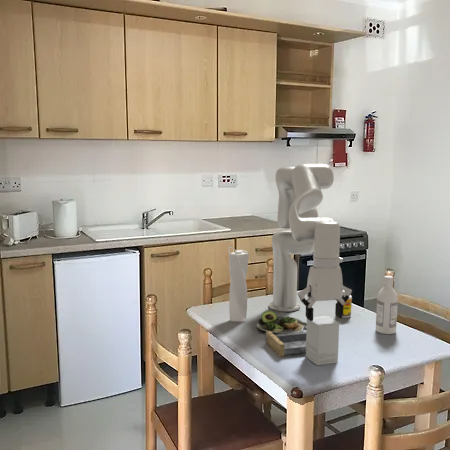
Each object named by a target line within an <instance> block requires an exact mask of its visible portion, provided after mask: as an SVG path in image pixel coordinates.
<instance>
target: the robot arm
mask: <svg viewBox="0 0 450 450" xmlns="http://www.w3.org/2000/svg"><path fill="white" fill-rule="evenodd" d="M275 184H276V188H277V190H278V206H277V218H276V219H277V225H278V227H279V228H280V229H284V230H279V231H278V230H277V231H276V232H274V234H272V238H271V245H272V247H271V248H272V256H273V277H272V278H273V279H272V280H273V281H272V282H273V284H272V288H273V289H272V291H273V292H272V301H270V302H269V304H268V307H269V308H270V309H271V310H273V311H277V312H285V313H286V312H287V313H288V312H297V311H298V310H300V309H301V304H300V303H299V302H297V295H298V298H299V300H300V302H301V303H302V304H303V305H304V306H305V317H306V320H307V319H308V320H310V321H313V317H314V308H313V306H314V305H315V304H316V302H326V301H336V303H335V307H334V308H335V309H334V311H335V312H334V313H335V316H336V317H337V318H338V319H343V318H342V314H343V305H345V302H346V301H347V300H348V299H349V296H350V295H351V294H352V292H353V290H352V289H351V288H350V287H346V286H345V285H344V284H343V274H342V273H343V272H342V268H341V266H340V263H343V258H342V257H340V246H341V245H340V243H341V242H340V240H341V237H340V236H341V225H340V224H339V222H337V221H336V220H335V219H333V218H331V217H319V213H318V210H317V207H318V206H319V205H321V203H322V201H323V198H324V196H323V192H322V190H328V189H330V188H331V187H332V186H333V184H334V172H333V169H332V168H331V166H330V165H329V164H325V163H303V164H297V165H295V166H282V167H279V168H278V169H276V171H275ZM312 253H313V256H312V259H313V260H312V266H310V267H309V270H308V276H307V281H306V282H307V284H306V287H305V288H304V289H302V290H300V291H299V292H298V291H297V289H298V288H297V287H298V264H297V262H296V260H295V259H294V258H293V256H294V255H311V254H312ZM292 255H293V256H292ZM343 290H344V291H345V293H344V295H343V296H342V294H343ZM297 292H298V293H297ZM305 296H306V297H307V299H306V298H305Z"/></svg>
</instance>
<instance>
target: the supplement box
mask: <svg viewBox="0 0 450 450" xmlns="http://www.w3.org/2000/svg"><path fill="white" fill-rule="evenodd" d="M306 323H307V326H306V331H305V332H306V354H305V357H306V358H307V359H309V361H311V362H312V363H314V364H315V365H316V366H323V365H330V364H335V363H338V362H339V340H340V339H339V338H340V337H339V336H340V335H339V332H340V322H339V321H338V320H335V319H333V318H332V317H330V316H328V315H320V316H313V321H310V320H308V319H307V318H306Z"/></svg>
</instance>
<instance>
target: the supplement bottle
mask: <svg viewBox="0 0 450 450" xmlns="http://www.w3.org/2000/svg"><path fill="white" fill-rule="evenodd" d="M344 293H345V291H344V290H343V294H342V296H343V295H344ZM352 301H353V297H352V295H351V294H350V296H349V299H348V300H347V301H346V302H345V305H343V314H342V318H341V319H343V318H344V319H346V318H347V319H348V318H350V317H351V316H352Z"/></svg>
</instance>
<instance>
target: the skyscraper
mask: <svg viewBox="0 0 450 450" xmlns="http://www.w3.org/2000/svg"><path fill="white" fill-rule="evenodd" d="M230 249H232V250H233V252H230ZM227 250H228V267H229V279H230V282H229V283H230V284H229V296H228V297H229V298H228V300H229V301H228V302H229V305H228V308H229V309H228V311H229V322H238V323H239V322H240V323H245V320H246V319H247V311H248V286H247V281H246V280H247V275H248V267H249V258H250V257H249V256H250V255H249V254H250V253H249V251H247V250H246V249H235V248H234V247H232V246H228V247H227Z"/></svg>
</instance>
